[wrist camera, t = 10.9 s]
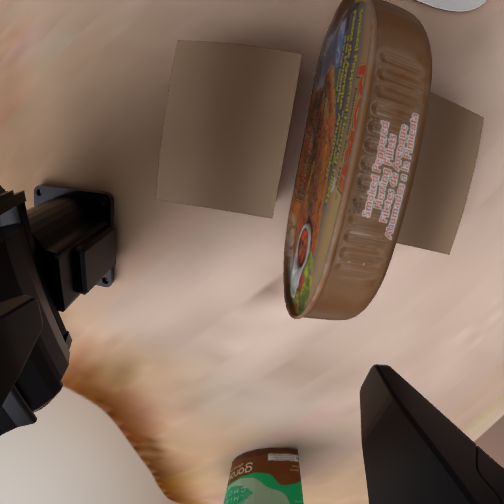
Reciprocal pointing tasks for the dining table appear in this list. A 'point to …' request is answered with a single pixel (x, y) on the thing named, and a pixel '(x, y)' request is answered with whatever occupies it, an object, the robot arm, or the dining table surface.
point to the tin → (356, 159)
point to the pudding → (454, 4)
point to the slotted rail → (275, 137)
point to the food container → (265, 478)
